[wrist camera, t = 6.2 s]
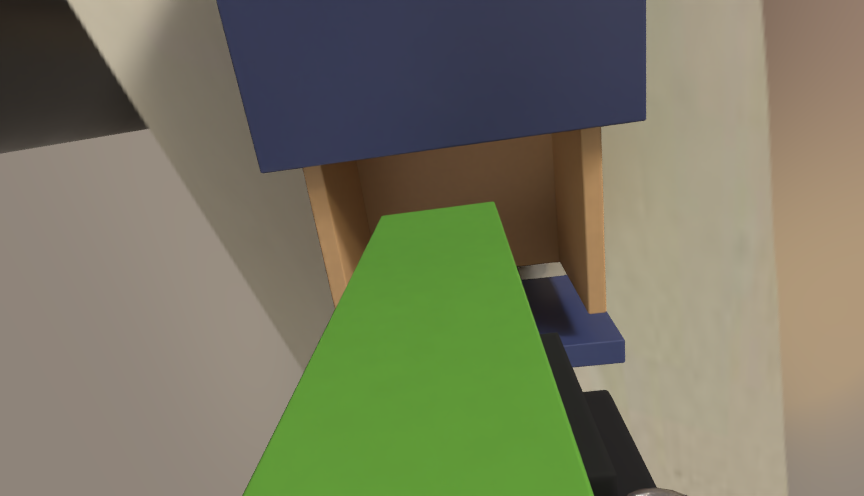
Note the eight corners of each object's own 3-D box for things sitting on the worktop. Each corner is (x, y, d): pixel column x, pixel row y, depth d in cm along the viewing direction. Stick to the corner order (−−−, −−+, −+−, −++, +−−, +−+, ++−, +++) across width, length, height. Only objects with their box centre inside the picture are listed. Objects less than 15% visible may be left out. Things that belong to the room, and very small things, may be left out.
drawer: (586, 361, 31) (627, 450, 23) (380, 380, 32) (356, 471, 25) (572, 52, 25) (620, 41, 18) (319, 90, 26) (265, 96, 19)
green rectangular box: (411, 380, 17) (348, 859, 7) (380, 215, 15) (223, 529, 5) (512, 370, 17) (612, 855, 6) (494, 200, 15) (598, 500, 4)
